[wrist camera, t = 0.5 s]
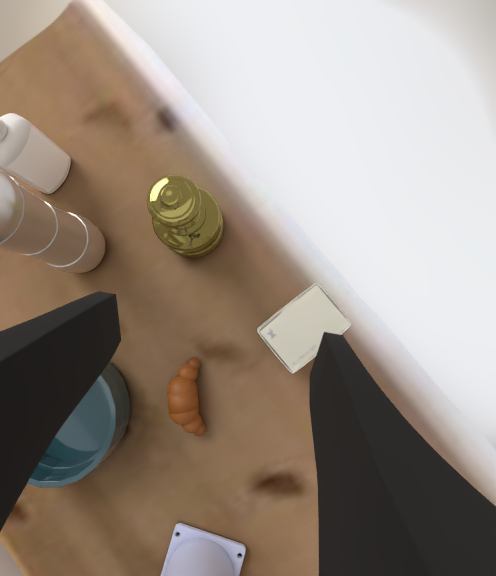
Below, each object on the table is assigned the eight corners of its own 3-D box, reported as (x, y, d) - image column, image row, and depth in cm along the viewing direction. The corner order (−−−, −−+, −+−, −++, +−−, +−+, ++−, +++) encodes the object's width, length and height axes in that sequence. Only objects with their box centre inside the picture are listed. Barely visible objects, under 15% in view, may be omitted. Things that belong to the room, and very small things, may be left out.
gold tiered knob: (198, 271, 36) (175, 253, 26) (151, 233, 36) (111, 202, 26) (237, 223, 36) (229, 188, 26) (190, 187, 37) (164, 139, 27)
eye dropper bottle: (82, 175, 37) (1, 108, 26) (44, 199, 37) (-56, 144, 25) (65, 147, 38) (-24, 69, 26) (27, 172, 38) (-80, 105, 26)
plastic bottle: (73, 285, 36) (-152, 246, 16) (51, 237, 37) (-192, 143, 17) (121, 260, 36) (-45, 190, 16) (97, 212, 37) (-89, 90, 17)
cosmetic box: (279, 357, 35) (290, 379, 22) (255, 327, 35) (253, 332, 23) (321, 323, 35) (355, 326, 23) (297, 293, 35) (317, 280, 23)
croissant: (176, 435, 34) (167, 447, 31) (169, 359, 35) (161, 364, 32) (207, 432, 34) (202, 444, 31) (200, 356, 35) (195, 360, 32)
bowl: (110, 483, 34) (90, 505, 30) (3, 447, 35) (-30, 464, 31) (146, 368, 35) (132, 375, 31) (42, 336, 36) (15, 338, 32)
